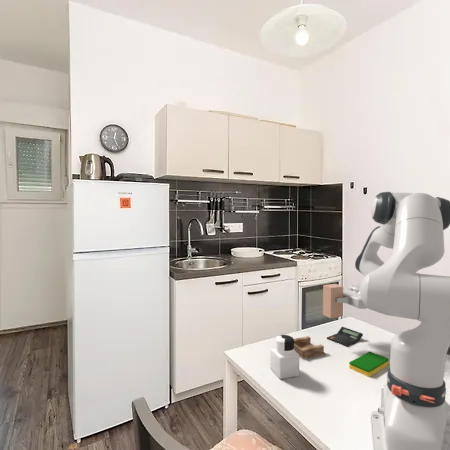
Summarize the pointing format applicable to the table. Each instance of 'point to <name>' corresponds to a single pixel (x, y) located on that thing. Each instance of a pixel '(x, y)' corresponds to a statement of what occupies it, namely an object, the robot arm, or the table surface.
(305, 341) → the tray
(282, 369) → the medicine bottle
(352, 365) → the dish sponge
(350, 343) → the calculator
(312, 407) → the table surface
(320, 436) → the table surface
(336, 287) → the clay block
